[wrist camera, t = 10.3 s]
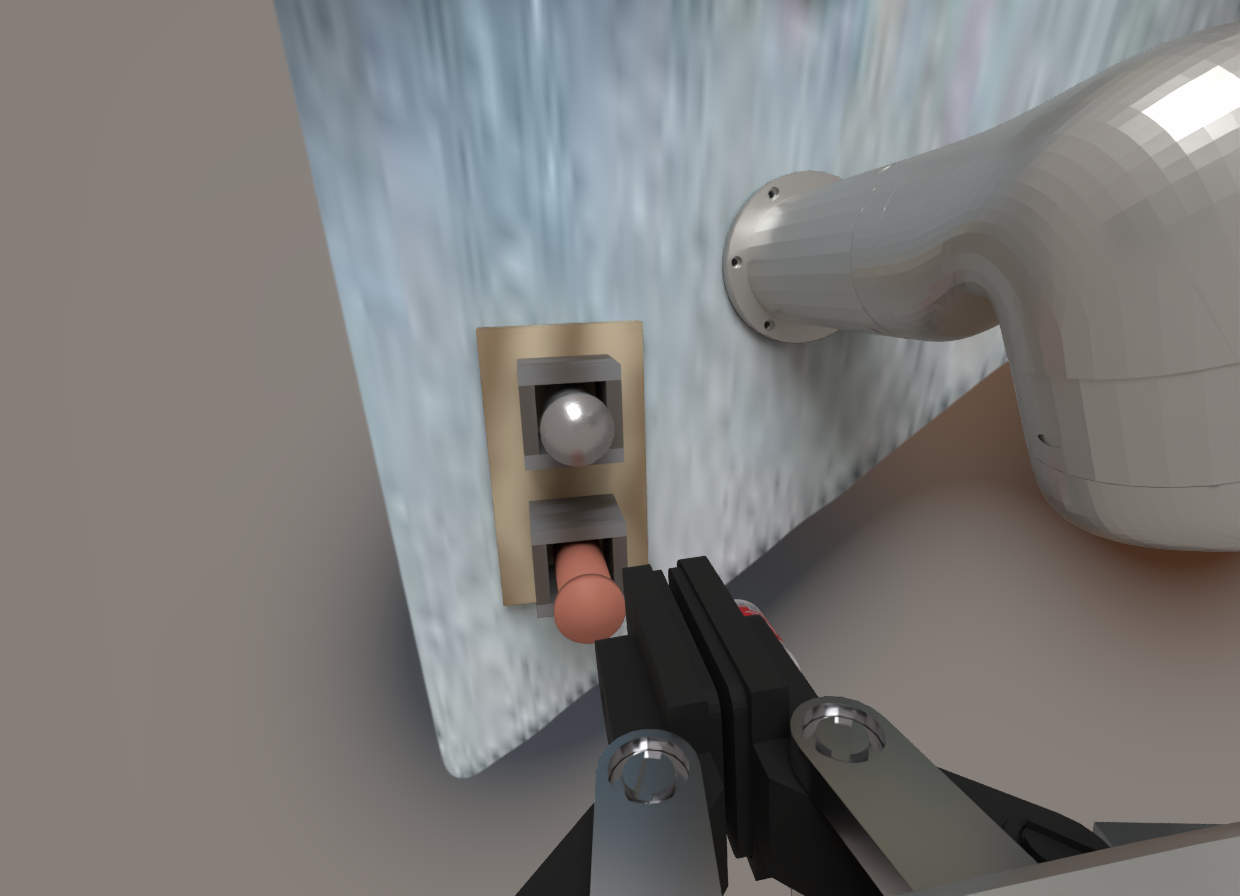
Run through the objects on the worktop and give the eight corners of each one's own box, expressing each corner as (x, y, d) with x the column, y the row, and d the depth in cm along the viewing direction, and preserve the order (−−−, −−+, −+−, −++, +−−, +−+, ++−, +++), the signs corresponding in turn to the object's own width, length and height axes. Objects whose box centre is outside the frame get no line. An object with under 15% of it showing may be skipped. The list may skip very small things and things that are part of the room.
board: (637, 320, 45) (661, 327, 37) (643, 577, 51) (665, 628, 43) (477, 327, 43) (469, 336, 36) (504, 593, 49) (501, 649, 42)
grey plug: (594, 370, 43) (613, 391, 34) (597, 429, 44) (615, 463, 36) (533, 374, 42) (537, 396, 34) (538, 433, 43) (543, 469, 35)
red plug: (604, 520, 44) (624, 575, 36) (606, 573, 45) (626, 638, 37) (545, 526, 43) (552, 584, 35) (549, 579, 44) (557, 647, 36)
